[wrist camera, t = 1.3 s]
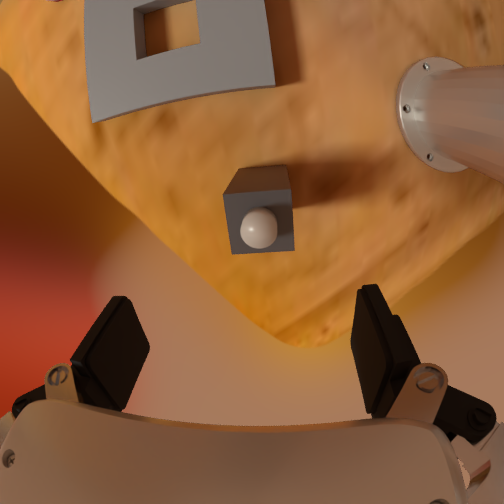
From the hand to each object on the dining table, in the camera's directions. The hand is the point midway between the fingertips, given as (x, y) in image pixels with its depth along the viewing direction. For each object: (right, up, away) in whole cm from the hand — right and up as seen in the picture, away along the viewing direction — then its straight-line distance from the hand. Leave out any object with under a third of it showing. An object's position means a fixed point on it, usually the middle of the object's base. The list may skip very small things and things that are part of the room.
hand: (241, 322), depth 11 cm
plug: (+2, +9, +17) cm, 19 cm away
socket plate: (-7, +24, +9) cm, 27 cm away
